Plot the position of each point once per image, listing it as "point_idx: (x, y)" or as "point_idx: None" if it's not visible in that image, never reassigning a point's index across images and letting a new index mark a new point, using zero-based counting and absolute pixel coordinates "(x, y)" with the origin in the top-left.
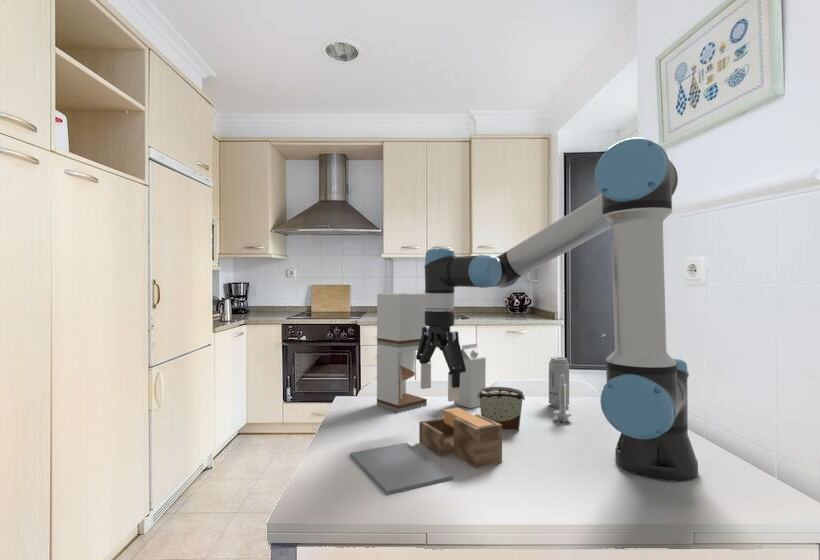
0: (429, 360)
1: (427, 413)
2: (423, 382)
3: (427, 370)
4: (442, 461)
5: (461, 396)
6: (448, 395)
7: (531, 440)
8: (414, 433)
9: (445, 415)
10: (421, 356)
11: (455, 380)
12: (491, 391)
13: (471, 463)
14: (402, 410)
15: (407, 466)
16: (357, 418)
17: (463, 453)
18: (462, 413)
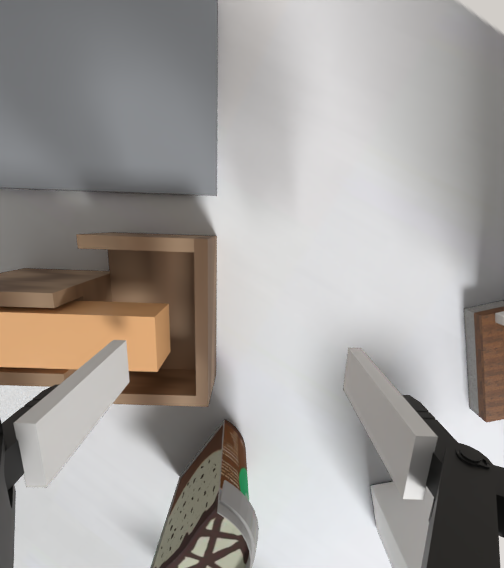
0: (429, 517)
1: (407, 374)
2: (358, 370)
3: (383, 435)
4: (85, 222)
5: (419, 505)
6: (109, 350)
7: (119, 460)
8: (284, 259)
9: (149, 311)
10: (484, 499)
11: (19, 415)
12: (233, 550)
13: (39, 269)
14: (467, 323)
15: (65, 113)
16: (499, 166)
17: (62, 272)
18: (90, 347)
